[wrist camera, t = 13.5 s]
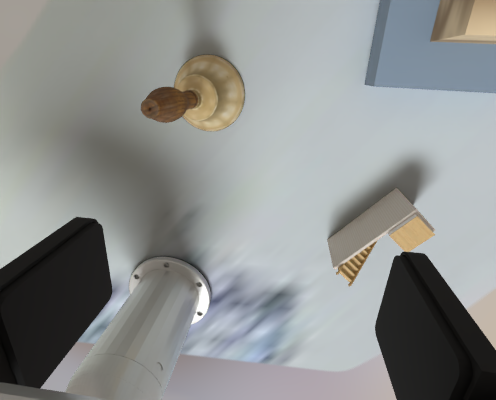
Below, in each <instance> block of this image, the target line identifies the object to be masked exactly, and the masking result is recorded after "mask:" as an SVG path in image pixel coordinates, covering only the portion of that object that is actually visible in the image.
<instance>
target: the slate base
mask: <svg viewBox="0 0 496 400" xmlns="http://www.w3.org/2000/svg"><path fill="white" fill-rule="evenodd" d="M439 3H440V0H380V4H379V10H378V15H377V20H376V26H375V31H374V36H373V42H372V47H371V53H370V58H369V63H368V69H367V74H366V80H365V85H369V86H376V87H394V88H412V89H429V90H447V91H465V92H483V93H496V44H478V43H453V42H430V39H431V35H432V31H433V27H434V23H435V19H436V15H437V11H438V7H439Z"/></svg>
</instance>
